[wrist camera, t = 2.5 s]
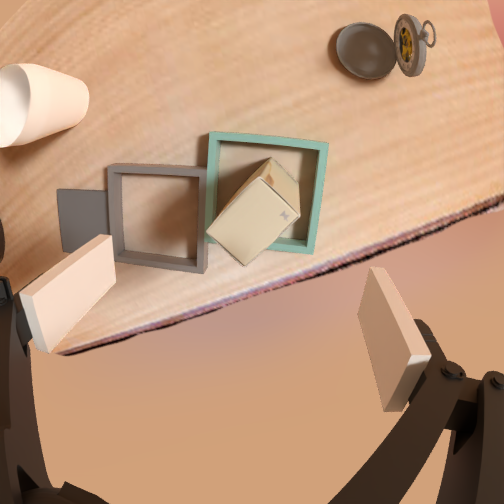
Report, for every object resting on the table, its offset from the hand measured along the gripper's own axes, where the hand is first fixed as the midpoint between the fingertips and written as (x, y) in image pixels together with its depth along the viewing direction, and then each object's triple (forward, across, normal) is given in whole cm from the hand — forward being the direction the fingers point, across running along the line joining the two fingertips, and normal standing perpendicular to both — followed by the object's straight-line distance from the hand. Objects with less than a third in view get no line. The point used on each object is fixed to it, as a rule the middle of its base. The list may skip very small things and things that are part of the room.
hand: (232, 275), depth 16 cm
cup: (+21, -26, +10) cm, 34 cm away
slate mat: (+21, -23, -6) cm, 32 cm away
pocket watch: (+21, +10, +17) cm, 29 cm away
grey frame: (+21, -12, -4) cm, 24 cm away
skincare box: (+21, 0, 0) cm, 21 cm away
